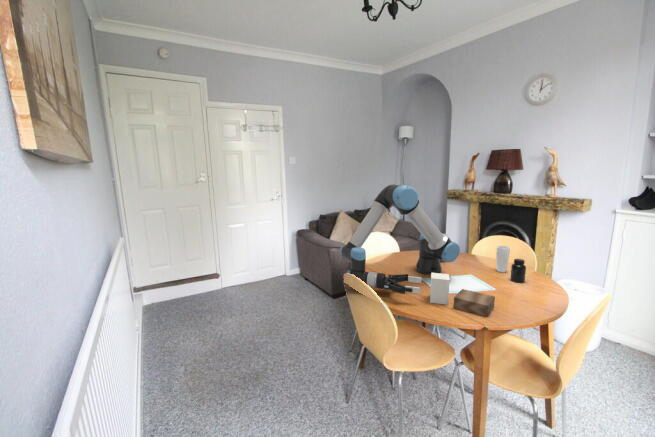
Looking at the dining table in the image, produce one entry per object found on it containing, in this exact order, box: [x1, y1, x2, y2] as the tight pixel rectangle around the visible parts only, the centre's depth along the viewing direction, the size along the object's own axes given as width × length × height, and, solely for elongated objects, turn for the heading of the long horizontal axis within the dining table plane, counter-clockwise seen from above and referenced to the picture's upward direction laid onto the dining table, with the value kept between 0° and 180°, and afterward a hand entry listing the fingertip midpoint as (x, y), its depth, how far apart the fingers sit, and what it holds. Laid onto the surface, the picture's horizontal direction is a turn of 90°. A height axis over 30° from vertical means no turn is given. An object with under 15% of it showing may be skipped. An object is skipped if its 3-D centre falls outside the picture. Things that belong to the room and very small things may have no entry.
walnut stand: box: [453, 288, 496, 318], centre depth 138 cm, size 14×12×5 cm
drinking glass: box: [495, 245, 511, 273], centre depth 183 cm, size 7×7×15 cm
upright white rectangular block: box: [429, 272, 451, 306], centre depth 145 cm, size 8×8×12 cm
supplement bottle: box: [510, 258, 527, 283], centre depth 168 cm, size 7×7×12 cm
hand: (420, 285), depth 148 cm, fingers open, 13 cm apart
